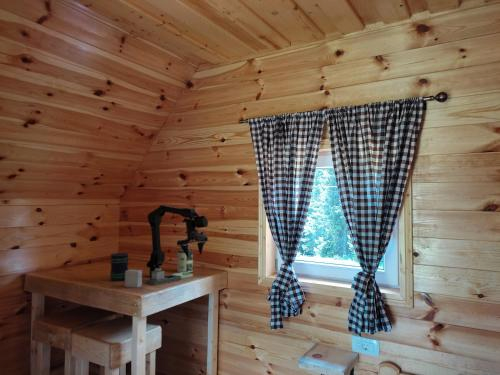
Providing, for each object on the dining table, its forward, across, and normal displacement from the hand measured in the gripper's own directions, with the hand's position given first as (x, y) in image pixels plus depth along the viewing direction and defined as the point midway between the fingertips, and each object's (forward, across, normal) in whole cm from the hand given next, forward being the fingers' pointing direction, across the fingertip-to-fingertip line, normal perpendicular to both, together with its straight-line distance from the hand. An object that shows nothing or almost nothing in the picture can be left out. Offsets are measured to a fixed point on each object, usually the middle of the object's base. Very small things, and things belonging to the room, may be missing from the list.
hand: (194, 255), depth 214 cm
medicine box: (+11, -33, +14) cm, 37 cm away
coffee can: (+12, +12, +29) cm, 33 cm away
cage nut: (+12, -18, +13) cm, 25 cm away
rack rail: (+12, -14, +13) cm, 23 cm away
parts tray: (+13, 0, +16) cm, 20 cm away
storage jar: (+8, -31, +34) cm, 47 cm away
